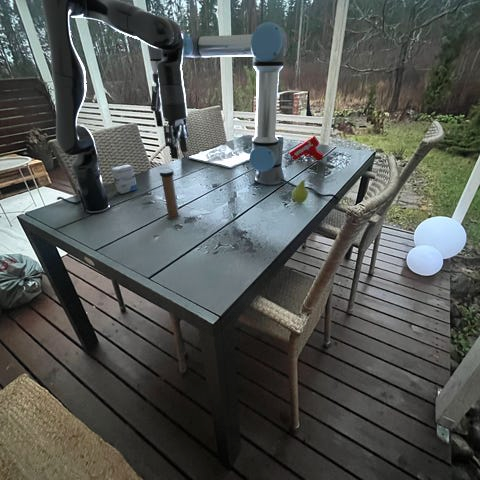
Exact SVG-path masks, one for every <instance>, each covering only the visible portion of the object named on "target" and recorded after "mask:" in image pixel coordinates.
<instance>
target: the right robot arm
mask: <svg viewBox="0 0 480 480" xmlns="http://www.w3.org/2000/svg"><path fill="white" fill-rule="evenodd" d="M182 35H183V57H182V58H211V57H212V58H218V57H219V58H220V57H221V58H222V57H224V58H225V57H226V58H227V57H229V58H230V57H253V68H254V69H255V71H256V107H255V108H256V110H255V135H254V136H253V137H252V139H251V151H250V153H249V154H250V156H249V163H250V166H251V167H252V168H253V169H254V170H256V172H255V173H256V174H255V178H254V181H255V183H258V184H259V185H262V186H263V185H264V186H279V185H281V184H283V183H285V184H287V185H289V186H291V187H294V188H296V187H297V186H298V184H297V185H296V184H294V183H291V182H290V181H289V180H286V179H285V175H284V172H283V171H284V170H283V167H282V165H283V154H284V153H283V152H284V137H283V135H280V134H279V135H278V134H276V129H277V128H276V127H277V113H278V112H277V111H278V95H279V80H280V79H279V77H280V71H281V70H282V69H283V68H284V61H285V60H284V59H285V56H286V54H287V52H288V49H289V47H290V46H289V45H290V39H289V35H288V33H287V31H286V30H285V29H284V28H283V27H281V26H280V25H278V24H277V23H276V22H271V21H268V22H267V21H266V22H262V23H261V24H259V25H258V26H257V27H256V28H255V29H254V30H253V32H252V34H231V35H230V34H228V35H208V36H190V35H189V34H188V33H182ZM146 46H147V50H148V55H149V63H150V69H151V72H152V74H151V76H152V83H153V84H155V85H152V86H151V102H150V110H151V111H152V112H154V117H155V121H156V127H158V128H163V126H164V123H163V115H162V110H161V100H160V93H159V85H160V84H159V80H158V73H157V63H158V62H159V61H161V60H162V49H158V48H155V47H152V46H150V45H148V44H146ZM305 189H306V190H310V191H312V192H314V193H315V195H317V196H320V197H323V198H324V197H325V198H326V197H333V198H334V199H335V200H339V197H338V196H337V195H336V194H333V193H327V194H324V193H323V194H322V193H319V192H318V191H317V190H316V189H315V188H312V187H310V186H305Z"/></svg>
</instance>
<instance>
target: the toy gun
mask: <svg viewBox="0 0 480 480" xmlns="http://www.w3.org/2000/svg"><path fill="white" fill-rule="evenodd" d="M319 144H320V141H319V140H318V138H317V137H316V136H315V135H313V136H311V137H310V138H308V139H306V140H305V141H304V142H302V143H301V144H299V145H298V146H296V147H294V148H293V149H292V150H290V151H289V153H288V154H289V156H290V157H291V158H292V160H293V161H296V160H298V159H299V158H301V157H303V156H304V157H305V158H309V157H310V156H311V157H313V158H314V159H315V160H316V162H317V163H319V161H317V160H320V159H321V161H323V158H324V154H323V153H322V152H320V151H319V149H317V147H318V146H319Z"/></svg>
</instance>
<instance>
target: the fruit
mask: <svg viewBox="0 0 480 480" xmlns="http://www.w3.org/2000/svg"><path fill="white" fill-rule="evenodd" d="M310 177H311V175H310V174H309V175H308V176H307V177H305V179H302V180H301V181H300V182H298V184H297V187H294V188H293V190H292V191H291V198H292V200H293V201H294V202H295V203H297V204H301V203H304V202H305V201H306V200H307V198H308V196H309V195H308V189H305V187H306V184H305V183H306V180H308V179H309V178H310Z"/></svg>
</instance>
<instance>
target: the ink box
mask: <svg viewBox="0 0 480 480" xmlns="http://www.w3.org/2000/svg"><path fill="white" fill-rule="evenodd" d="M110 170H111V173H112V176H113V181H114V184H115V188H116V191H117V192H118V193H119V194H121V195H122V194H126V193H130V192H132V191H133V192H134V191H136V190H138V185H137V181H136V177H135V171H134V167H133V165H130V164H124V165H120V166H119V165H118V166H115V167H111V168H110Z"/></svg>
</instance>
